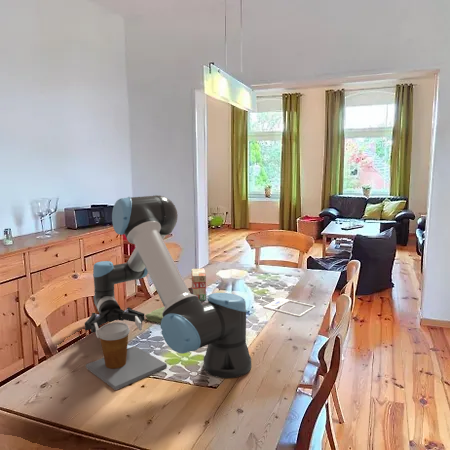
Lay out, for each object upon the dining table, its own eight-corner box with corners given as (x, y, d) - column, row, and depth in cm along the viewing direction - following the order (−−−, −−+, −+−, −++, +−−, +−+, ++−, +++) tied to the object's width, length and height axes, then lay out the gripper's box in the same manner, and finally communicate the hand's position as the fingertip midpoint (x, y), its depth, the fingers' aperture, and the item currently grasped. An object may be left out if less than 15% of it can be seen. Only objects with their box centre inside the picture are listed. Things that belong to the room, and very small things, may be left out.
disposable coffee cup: (98, 373, 122) (96, 335, 120) (101, 358, 131) (99, 323, 129) (131, 369, 124) (129, 332, 122) (131, 355, 133) (129, 320, 131)
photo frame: (280, 297, 190) (315, 305, 179) (280, 299, 190) (315, 308, 179) (263, 306, 178) (299, 315, 167) (263, 308, 179) (299, 318, 168)
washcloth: (162, 310, 177) (161, 303, 177) (196, 317, 169) (196, 309, 169) (143, 321, 166) (143, 313, 165) (179, 328, 158) (179, 320, 157)
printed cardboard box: (191, 287, 209) (191, 263, 207) (203, 286, 209) (203, 263, 208) (192, 301, 188) (192, 275, 186) (206, 300, 188) (205, 275, 187)
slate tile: (166, 367, 127) (166, 363, 127) (115, 390, 115) (115, 386, 114) (135, 349, 140) (135, 345, 140) (85, 367, 127) (85, 364, 127)
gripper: (142, 313, 158) (157, 333, 139) (74, 324, 147) (80, 348, 128) (141, 294, 157) (156, 313, 138) (73, 304, 146) (79, 325, 127)
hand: (119, 330), depth 133 cm, fingers open, 13 cm apart
